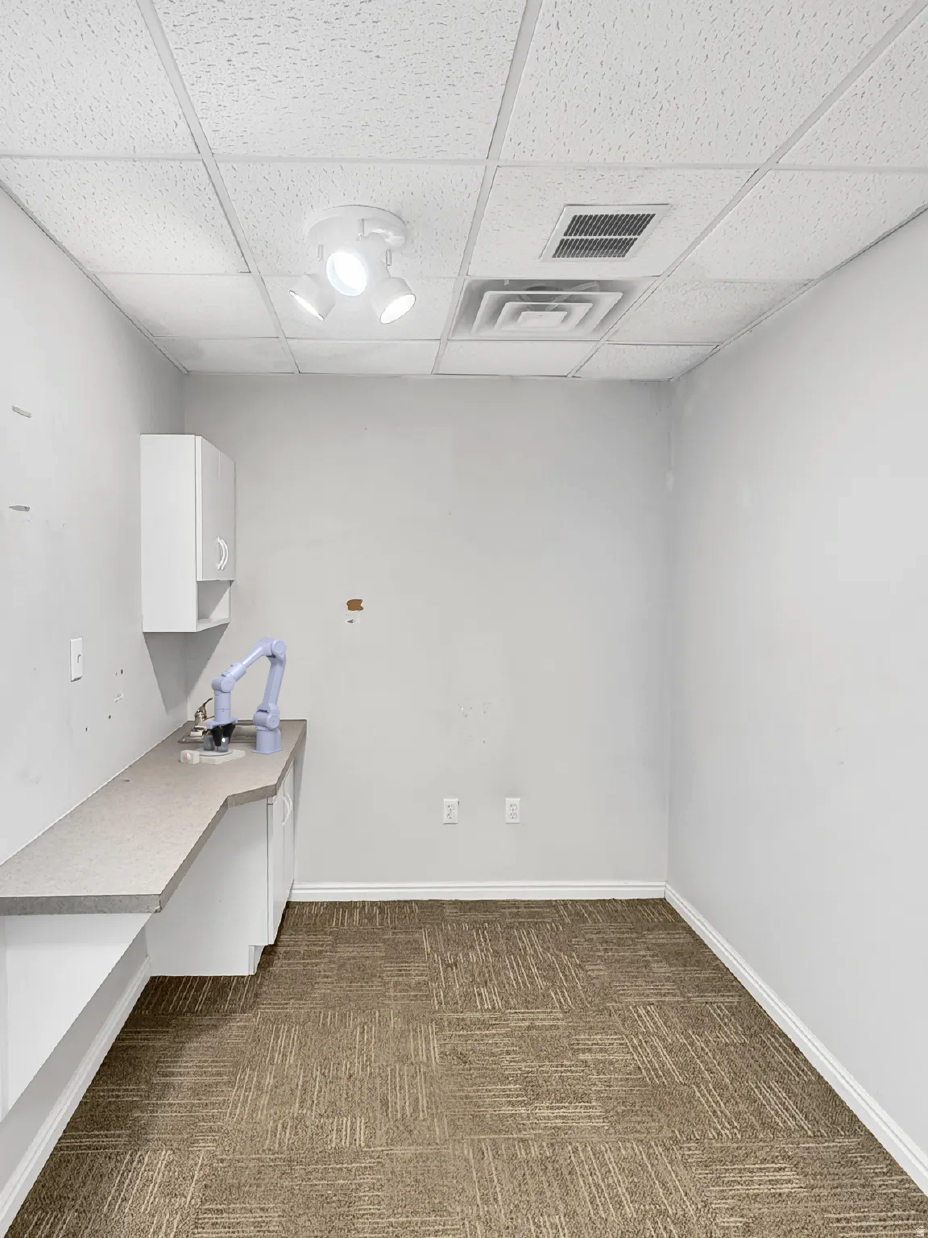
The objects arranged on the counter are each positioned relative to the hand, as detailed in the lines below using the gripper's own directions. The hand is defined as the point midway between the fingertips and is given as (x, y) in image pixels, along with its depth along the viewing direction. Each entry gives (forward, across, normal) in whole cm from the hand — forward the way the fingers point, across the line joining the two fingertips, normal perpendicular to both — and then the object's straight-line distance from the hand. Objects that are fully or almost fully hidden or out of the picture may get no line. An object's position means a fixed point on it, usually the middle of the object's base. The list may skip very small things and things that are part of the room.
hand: (222, 745), depth 309 cm
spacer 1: (+2, 0, -6) cm, 7 cm away
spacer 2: (+2, 0, 0) cm, 2 cm away
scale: (+5, +2, -4) cm, 7 cm away
